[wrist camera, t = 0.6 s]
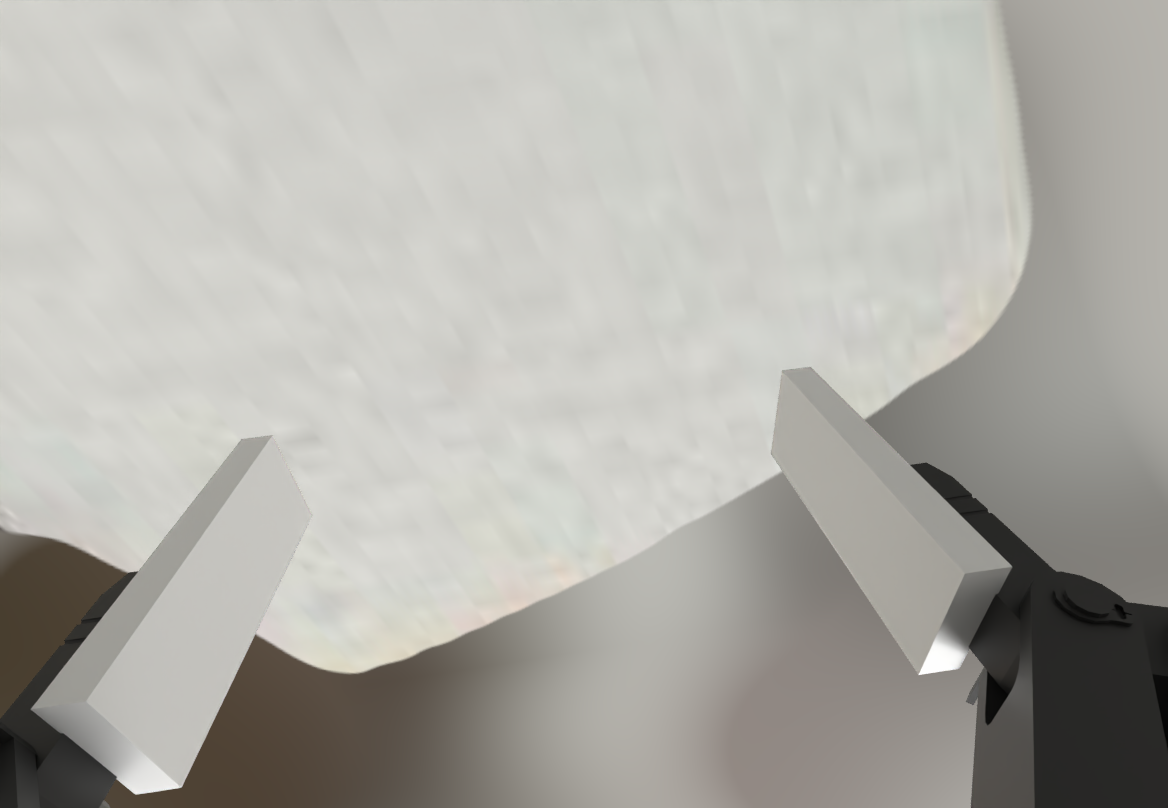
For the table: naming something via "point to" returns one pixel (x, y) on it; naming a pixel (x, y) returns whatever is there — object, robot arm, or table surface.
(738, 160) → the table surface
